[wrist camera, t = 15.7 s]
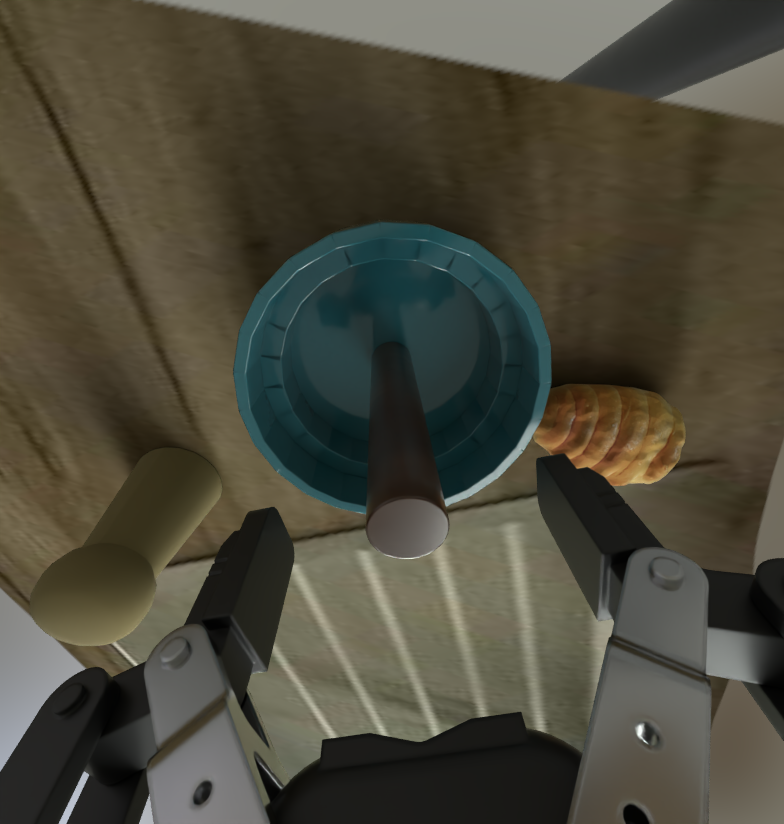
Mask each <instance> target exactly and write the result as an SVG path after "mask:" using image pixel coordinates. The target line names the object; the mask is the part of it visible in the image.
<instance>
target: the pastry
mask: <svg viewBox="0 0 784 824" xmlns="http://www.w3.org/2000/svg"><path fill="white" fill-rule="evenodd" d="M685 436H686V435H685V426H684V421H683V418H682V414H681V413H680V412H679V410H678V409H677V408H675V407H673V406H671V405H670V404H668V403H667V402H666V401H665V399H664V398H662V397H661V396H660V395H659V394H657V393H655V392H651V391H646V390H642V389H638V388H634V387H623V386H616V385H601V384H566V385H562V386H559V387H555V388H551V389H550V391H549V395H548V399H547V403H546V406H545V410H544V414H543V418H542V420H541V422H540V424H539V425H538V427H537V429H536V431H535V432H534V434H533V438H534V441H535V442H536V443H538V444H539V445H541V446H542V447H543V448H545V449H546V450H547V451H548V452H549V453H550V454H551V455H556V454H561V453H564V454H566V455H567V457H568V458H569V459H570V461H571V462H572V463H573V464H574V466H575V467H576V468H577V469H579V468H584V467H588V468H590V469H592V470H594V471H595V472H597V473H599V474H600V475H602V476H604V477H605V478H606V479H607V481H608V482H609V483H610V484H611V485H613V486H624V485H626V484H628V483H645V484H651V483H653V482H656V481H658V480H660V479H661V478H662V477H664V476H665V475H667V474H668V472H669V471H670V470H671V469H672V468H673V467H674V466H675V465H676V463H677V462H678V460H679V458H680V453H681V448H682V446H683V445H684V443H685Z"/></svg>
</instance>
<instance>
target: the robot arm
mask: <svg viewBox="0 0 784 824" xmlns="http://www.w3.org/2000/svg"><path fill="white" fill-rule="evenodd" d="M536 469H537V492H538V503H539V507H540V511H541V514H542V516H543V518H544V520H545V522H546V524H547V526H548V528H549V530H550V532H551V534H552V536H553V537H554V539H555V541H556V543H557V545H558V547H559V549H560V551H561V553H562V554H563V556H564V558H565V560H566V562H567V564H568V566H569V568H570V569H571V571H572V573H573V575H574V577H575V579H576V581H577V583H578V585H579V586H580V588H581V590H582V592H583V594H584V596H585V598H586V600H587V602H588V603H589V605H590V607H591V609H592V611H593V613H594V615H595V617H596V618H597V620H598V621H603V620H609V619H613V620H614V626H613V631H612V635H611V637H609V640H608V643H607V647H606V651H605V655H604V660H603V664H602V669H601V673H600V678H599V682H598V687H597V691H596V696H595V700H594V704H593V709H592V713H591V718H590V722H589V727H588V731H587V736H586V740H585V745H584V749H583V753H581V752H580V751H579V750H577V749H576V748H574V747H573V746H571V745H569V744H568V743H566V742H564V741H563V740H560V739H558V738H556V737H554V736H552V735H550V734H547V733H544V732H541V731H538V730H533V729H528V728H526V727H525V723H524V720H523V716H522V713H521V712H516V713H509V714H502V715H495V716H487V717H480V718H473V719H470V720H468V721H465V722H463V723H461V724H459V725H457V726H455V727H453V728H451V729H449V730H447V731H445V732H443V733H441V734H439V735H437V736H434V737H432V738H430V739H428V740H426V741H423V742H414V741H409V740H403V739H398V738H393V737H388V736H382V735H377V734H372V733H367V734H360V735H353V736H346V737H338V738H331V739H324V740H322V748H321V757H320V759H318V760H316V761H314V762H313V763H311V764H310V765H308V766H307V767H305V768H304V769H303V770H301V771H300V772H299V773H298V774H297V775H295V776H294V777H293V778H292V779H291V780H290V778H289V776H288V774H287V772H286V771H285V769H284V767H283V766H282V764H281V762H280V760H279V758H278V756H277V754H276V752H275V749H274V747H273V745H272V742H271V740H270V738H269V735H268V733H267V731H266V728H265V726H264V724H263V721H262V719H261V716H260V714H259V712H258V709H257V707H256V705H255V702H254V700H253V698H252V695H251V693H250V691H249V689H248V688H247V686H248V683H249V679H250V675H251V674H253V673H259V672H266V671H267V670H268V666H269V662H270V658H271V653H272V649H273V645H274V641H275V637H276V633H277V629H278V625H279V621H280V617H281V612H282V608H283V604H284V600H285V596H286V592H287V588H288V584H289V580H290V575H291V571H292V567H293V563H294V547H293V543H292V540H291V538H290V536H289V534H288V532H287V530H286V527H285V525H284V523H283V521H282V519H281V517H280V515H279V512H278V510H277V509H276V508H275V507H270V508H265V509H260V510H254V511H250V512H248V514H247V515H246V517H245V520H244V522H243V524H242V527H241V529H240V530H238V531H234V532H233V533H232V534H231V535H230V537H229V538H228V539H227V540H226V541H225V542H224V543H223V545H222V546H221V548H220V550H219V552H218V554H217V556H216V558H215V564H213V565H212V567H211V569H210V571H209V576H208V577H207V578H206V580H205V582H204V584H203V586H202V588H201V590H200V593H199V595H198V597H197V599H196V601H195V603H194V605H193V607H192V610H191V612H190V614H189V616H188V618H187V620H186V622H185V624H184V626H182V627H180V628H177V629H176V630H174V631H172V632H171V633H169V634H168V635H167V636H166V637H164V638H163V639H162V640H161V641H160V642H159V643H158V644H157V645H156V647H155V648H154V649H153V651H152V652H151V654H150V655H149V657H148V659H147V661H146V662H143V663H141V664H139V665H137V666H135V667H133V668H131V669H129V670H126V671H124V672H122V673H120V674H118V675H116V676H114V677H111V676H110V675H109V674H108V673H107V672H106V671H105V670H104V669H102V668H100V667H93V668H88V669H85V670H83V671H81V672H79V673H77V674H75V675H74V676H72V677H71V678H69V679H68V680H67V681H65V682H64V683H63V684H62V685H60V687H58V688H57V689H56V690H55V691H54V692H53V693H52V694H51V695H50V697H49V698H48V699H47V700H46V701H45V703H44V704H43V706H42V707H41V709H40V710H39V712H38V713H37V715H36V717H35V718H34V720H33V722H32V723H31V725H30V726H29V728H28V729H27V731H26V732H25V734H24V735H23V737H22V739H21V740H20V742H19V743H18V745H17V747H16V748H15V750H14V751H13V753H12V754H11V756H10V758H9V759H8V761H7V762H6V764H5V766H4V767H3V769H2V770H1V772H0V824H59V821H60V819H61V817H62V815H63V813H64V811H65V809H66V807H67V805H68V802H69V801H70V799H71V796H72V795H73V792H74V790H75V788H76V786H77V784H78V782H79V780H80V778H81V776H82V774H83V772H84V771H85V772H86V773H88V774H89V777H88V779H87V781H86V783H85V786H84V788H83V790H82V792H81V794H80V796H79V798H78V801H77V802H76V805H75V807H74V809H73V811H72V813H71V815H70V817H69V819H68V822H67V824H139V822H140V819H141V816H142V813H143V810H144V807H145V805H146V802H147V799H148V796H149V794H150V800H151V808H152V815H153V821H154V824H708V821H709V819H708V818H709V773H710V771H709V770H710V727H711V683H710V679H709V678H708V677H707V676H706V674H707V675H712V676H718V677H723V678H729V679H734V680H740V681H742V682H743V684H744V685H745V687H746V688H747V690H748V691H749V693H750V694H751V695H752V697H753V698H754V700H755V701H756V702H757V704H758V705H759V707H760V708H761V710H762V711H763V712H764V714H765V715H766V717H767V718H768V720H769V721H770V722H771V724H772V725H773V727H774V728H775V729H776V731H777V732H778V734H779V735H780V736H781V738H782V739H783V741H784V558H776V559H770V560H767V561H764V562H762V563H761V564H760V565H759V566H758V568H757V570H756V573H755V575H750V574H741V573H731V572H721V571H713V570H707V569H703V568H700V567H699V566H698V565H697V564H696V563H695V562H694V561H692V560H691V559H689V558H688V557H686V556H684V555H683V554H680V553H678V552H676V551H673V550H670V549H666V548H664V547H663V546H662V545H661V544H660V542H659V541H658V540H657V539H656V538H655V536H654V535H653V534H652V533H651V532H650V531H649V529H648V528H647V527H646V526H645V525H644V523H643V522H642V521H641V520H640V519H639V517H638V516H637V515H636V514H635V513H634V511H633V510H632V509H631V508H630V507H629V506H628V504H625V501H624V500H623V498H622V497H621V496H620V495H619V494H618V493H616V491H615V489H614V488H613V487H612V485H611V484H610V483H609V482H608V481H607V479H606V478H605V477H604V476H602V475H600V474H599V473H597V472H595V471H594V470H592V469H590V468H588V467H584V468H579V469H577V468H576V467H575V466H574V464H573V463H572V462H571V461H570V459H569V458H568V457H567V455H566V454H564V453H561V454H556V455H551V456H546V457H540V458H537V461H536Z"/></svg>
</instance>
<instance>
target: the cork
mask: <svg viewBox="0 0 784 824" xmlns="http://www.w3.org/2000/svg"><path fill="white" fill-rule="evenodd" d="M221 492H222V484H221V478H220V477H219V475H218V473H217V471H216V470H215V468H214V467H213V466H212V465H211V464H210V463H209V462H208V461H207V460H206V459H204V458H202V457H201V456H199V455H197V454H195V453H194V452H191V451H188V450H184V449H181V448H170V447H163V448H159V449H155V450H151V451H150V452H148V453H147V454H145V455H144V456H142V457H141V459H140V460H139V462H138V463H137V465H136V466H135V468H134V469H133V471H132V472H131V474H130V475H129V477H128V478H127V480H126V481H125V483H124V484H123V486H122V487H121V489H120V490H119V492H118V493H117V495H116V496H115V498H114V500H113V501H112V503H111V504H110V506H109V507H108V509H107V510H106V512H105V513H104V515H103V516H102V518H101V519H100V521H99V522H98V524H97V525H96V527H95V528H94V530H93V531H92V533H91V534H90V536H89V537H88V539H87V540H86V542H85V543H84V545H83V546H82V547H81V548H78V549H74V550H72V551H71V552H69V553H67V554H66V555H64V556H63V557H61V558H60V559H58V560H57V561H55V562H54V563H52V564H51V565H50V566H49V567H48V568H47V570H46V571H45V572H44V573H43V574H42V575H41V577H40V579H39V580H38V582H37V584H36V586H35V587H34V589H33V591H32V593H31V598H30V614H31V616H32V618H33V619H34V621H35V623H36V624H37V625H38V626H39V627H40V628H41V629H42V630H43V631H44V632H45V633H47V634H49V635H50V636H52V637H54V638H56V639H58V640H60V641H63V642H66V643H69V644H74V645H80V646H100V645H105V644H110V643H113V642H115V641H117V640H119V639H121V638H123V637H124V636H126V635H127V634H129V633H131V632H132V631H133V630H134V629H135V628H136V627H137V626H138V624H139V623H140V622H141V621H142V620H143V619H144V617H145V616H146V615H147V613H148V611H149V609H150V608H151V606H152V603H153V600H154V596H155V591H156V586H157V585H156V580H155V579H156V578H157V576H158V575H159V574H160V573H161V571H162V570H163V569H164V568H165V566H166V565H167V564H168V563H169V561H170V560H171V559H172V558H173V556H174V555H175V554H176V553H177V551H178V550H179V549H180V548H181V546H182V545H183V544H184V543H185V541H186V540H187V539H188V538H189V536H190V535H191V534H192V533H193V531H194V530H195V529H196V528H197V526H198V525H199V524H200V522H201V521H202V520H203V519H204V517H205V516H206V515H207V514H208V512H209V511H210V510H211V509H212V507H213V506H214V505H215V504H216V502H217V501H218V500H219V499H220V496H221Z"/></svg>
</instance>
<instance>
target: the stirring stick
mask: <svg viewBox="0 0 784 824" xmlns="http://www.w3.org/2000/svg"><path fill="white" fill-rule="evenodd" d="M448 531H449V518H448V514H447V509H446V505H445V501H444V497H443V492H442V488H441V484H440V480H439V475H438V471H437V467H436V462H435V458H434V454H433V450H432V445H431V441H430V437H429V432H428V428H427V424H426V420H425V415H424V411H423V407H422V402H421V398H420V394H419V390H418V385H417V381H416V377H415V372H414V368H413V364H412V360H411V356H410V353H409V351H408V350H407V348H406V347H405V346H403V345H402V344H400V343H397V342H387V343H384V344H382V345H380V346H379V347H377V348H376V350H375V351H374V353H373V355H372V362H371V390H370V417H369V445H368V472H367V500H366V535H367V538H368V540H369V541H370V543H371V544H372V546H373V547H374V548H375V549H376V550H378V551H379V552H381V553H383V554H385V555H387V556H390V557H393V558H399V559H412V558H418V557H422V556H425V555H427V554H429V553H431V552H433V551H434V550H436V549H437V548H438V547H439V546H440V545H441V544H442V543H443V542H444V540H445V539H446V537H447V535H448Z"/></svg>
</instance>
